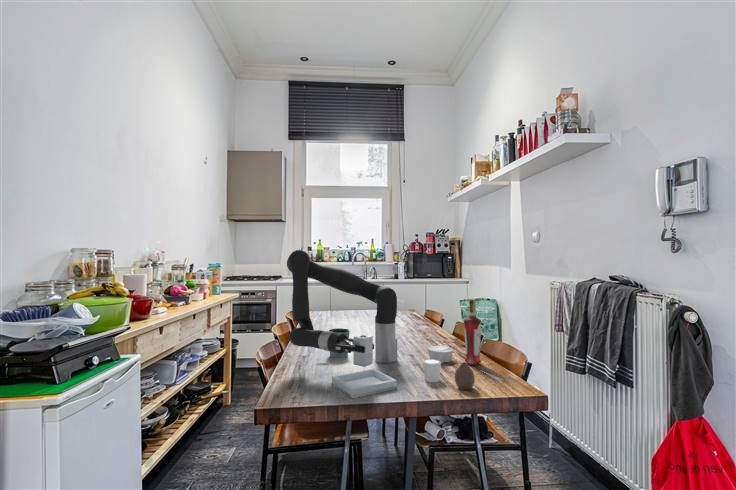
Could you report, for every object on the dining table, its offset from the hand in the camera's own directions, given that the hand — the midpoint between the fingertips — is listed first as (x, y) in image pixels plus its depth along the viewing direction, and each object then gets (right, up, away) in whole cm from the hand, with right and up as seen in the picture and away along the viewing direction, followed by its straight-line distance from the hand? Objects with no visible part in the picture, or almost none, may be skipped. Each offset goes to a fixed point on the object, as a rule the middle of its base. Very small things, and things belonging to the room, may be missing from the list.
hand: (369, 348), depth 133 cm
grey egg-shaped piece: (+34, -14, -1) cm, 37 cm away
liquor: (+46, -15, +29) cm, 56 cm away
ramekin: (+33, -15, +35) cm, 50 cm away
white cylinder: (+24, -14, +8) cm, 29 cm away
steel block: (-2, -6, +1) cm, 7 cm away
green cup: (-14, -16, +44) cm, 49 cm away
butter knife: (+46, -15, +20) cm, 52 cm away
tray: (-2, -14, +1) cm, 14 cm away
